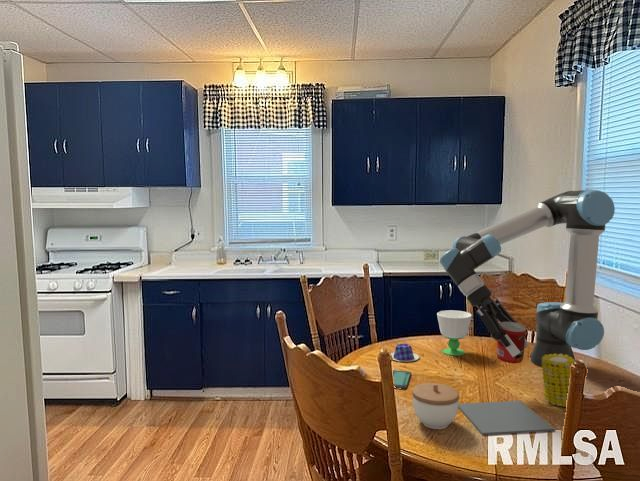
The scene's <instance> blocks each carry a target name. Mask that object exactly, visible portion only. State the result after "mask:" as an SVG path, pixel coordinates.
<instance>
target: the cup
mask: <svg viewBox="0 0 640 481" xmlns="http://www.w3.org/2000/svg"><path fill="white" fill-rule="evenodd" d="M436 316H437V321H438V322H437V323H438V326H439V330H440V334H441V335H442V336H443V337H444V338H447V339H449V340H448V342H447V345H448V347H447V348H444V349H442V353H443V354H445V355H449V356H456V357H458V356H464V355H465V354H466V351H465V350H463V349H461V348H460V345H461V344H460V341H459V340H461V339H462V340H463V339H464V338H466V337H467V336H468V332H469V328H470V325H471V320H472V314H471V313H470V312H468V311H463V310H452V309H450V310H440V311H438V312H437V313H436Z"/></svg>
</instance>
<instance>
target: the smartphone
mask: <svg viewBox="0 0 640 481" xmlns="http://www.w3.org/2000/svg"><path fill="white" fill-rule="evenodd" d="M392 370H393V377H394V386H395V387H396V388H401V389H406V388H408V386H407V385H409V383H410V381H411V378H412V371H406V370H405V371H404V370H395V369H392ZM401 389H400V390H401ZM406 390H407V389H406Z"/></svg>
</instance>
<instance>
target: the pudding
mask: <svg viewBox="0 0 640 481" xmlns="http://www.w3.org/2000/svg"><path fill="white" fill-rule="evenodd" d="M391 355H392V357H393V359H392V360H394V361H397V362H400V361H401V362H414V361H417V360H419V359H420V356H419V355H418V354H416V353H414V352H413V348H412V346H411V345H410V344H409V343H397V344H396V346H395V349H394V351H393V352H391Z"/></svg>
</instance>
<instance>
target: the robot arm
mask: <svg viewBox="0 0 640 481" xmlns="http://www.w3.org/2000/svg"><path fill="white" fill-rule="evenodd" d="M615 209H616V208H615V203H614V200H613V198H611V197H610V196H609V194H608V193H606V192H604V191H602V190H596V189H583V190H568V191H567V190H566V191H564V192H560V193H559V194H557V195H555V196H551V197H550V198H547V199H545V200H544V201H541V202H539V203H537V204H536V206H535V207H534V208H531V209H528V210H526V211H524V212H522V213H520V214H517V215H515V216H512V217H511V218H507V219H505V220H503V221H501V222H497V223H496V224H493V225H491V226H489V227H486V228H484V229H482V230H479V231H476V232H475V233H471V234H469V235H467V236H459V237H456V238H455V240H454V241H453V244H452V248H451V249H449V250H448V251H446V252H445V253H443V255H441V257H440V259H439V263H440V264H441V267H443V269H444V271H445V272H446V273H447V274H448V275H449V277H450V278H451V280H452V281H453V282H454V284H455V285H456V286H457V287H458V289H459V291H460V292H461V293H462V294H463V296H465V297H466V299H467V301H468V302H469V304H470V305H471V306H472V307H477V308H478V309H477V310H476V311H475V314H476V315H477V316H478V317H479V319H480V320H481V322H482V323H483V324H484V326H485V327H486V329H487V331H488V333H489V334H490V336H491V337H492V338H493V339H494V340H495V341H497V340H498V339H499V340H500V341H501V342H502V344H503V345H504V346H505V347H506V349H507V350H508V351H509V353H510V354H511V355H512V357H514V356H516V355H517V354H519V353H521V352H520V351H519V349H518V348H517V347H516V346H515V344H514V343H513V342H512V340H511V339H510V338H509V336H508V335H507V334H506V335H505V334H504V332H503V330H502V328H501V326H500V324H499V323H501V322H515V323H518V322H517V321H516V320H515V319H514V317H513V316H512V315H511V314H510V313H509V312H508V310H506V308H505V307H504V306H503V305H502V303H501V302H500V300H498V299H496V300H493V299H492V298H491V296H492V294H493V293H492V291H491V289H489V287H488V286H487V285H485V282H484V281H483V279H482V278H481V277H480V276H479V274H478V273H477V271H476V269H477V268H480V266H482V265H484V264H485V263H487V262H488V261H490V260H491V259H494V258H495V257H497V255H499V254H500V253H501V252H502V247H501V245H503V244H506V243H508V242H510V241H513V240H515V239H518V238H520V237H522V236H525V235H527V234H529V233H531V232H534V231H536V230H539V229H542V228H544V227H546V228H551V227H553V226H556V225H562V224H565V230H566V231H567V232H568V233H569V235H570V236H569V237H570V238H569V247H568V248H569V249H568V250H569V251H568V259H567V260H568V261H567V262H568V264H567V273H566V274H567V275H566V286H565V287H566V288H565V299H564V302H559V301H558V302H553V301H552V302H548V301H547V302H540V303H538V304H537V306H536V325H535V326H536V332H535V334H536V335H535V337H536V338H535V343H534V345H533V347H532V350H531V354H530V362H531V363H533V364H534V365H537V366H539V367H542V357H543V356H545V355H549V354H552V355H553V354H563V355H565V354H566V355H569V357H572V358H573V359H574V360H575V361H576V358H575V355H574V351H573V349H577V350H581V351H587V350H591V349H594V348H595V347H596V346H597V345H599V344H600V343H601V342H602V340H603V339H604V336H605V328H604V325H603V324H602V322H601V321H600V320H598V317H599V311H598V309H597V308H596V307H595V305H594V302H595V291H596V290H595V289H596V278H597V267H598V266H597V265H598V255H599V254H598V253H599V244H600V243H599V241H600V235H602V234H603V233H605V231H606V224H608V223H610V221H611V220H613V218H614V215H615V212H616V210H615ZM504 335H505V336H504ZM530 345H531V344H530V342H529V341H527V339H526V338H525V345H524V349H526V348H527V347H530ZM572 348H573V349H572Z"/></svg>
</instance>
